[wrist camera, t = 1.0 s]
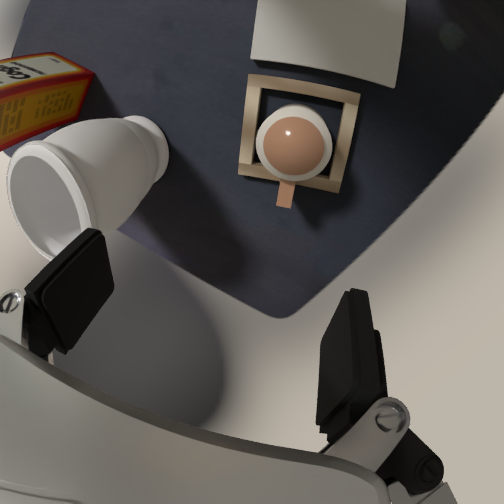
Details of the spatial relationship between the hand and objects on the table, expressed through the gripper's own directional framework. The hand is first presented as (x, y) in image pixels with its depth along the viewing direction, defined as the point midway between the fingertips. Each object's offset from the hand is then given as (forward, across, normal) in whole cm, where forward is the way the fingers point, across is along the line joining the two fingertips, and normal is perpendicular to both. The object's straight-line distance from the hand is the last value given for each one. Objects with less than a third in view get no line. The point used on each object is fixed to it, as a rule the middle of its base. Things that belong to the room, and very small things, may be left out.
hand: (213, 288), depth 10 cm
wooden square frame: (+20, -2, -2) cm, 20 cm away
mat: (+20, -3, -14) cm, 24 cm away
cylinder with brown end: (+20, -2, -1) cm, 20 cm away
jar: (+20, +15, +2) cm, 25 cm away
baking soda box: (+20, +28, -7) cm, 35 cm away
